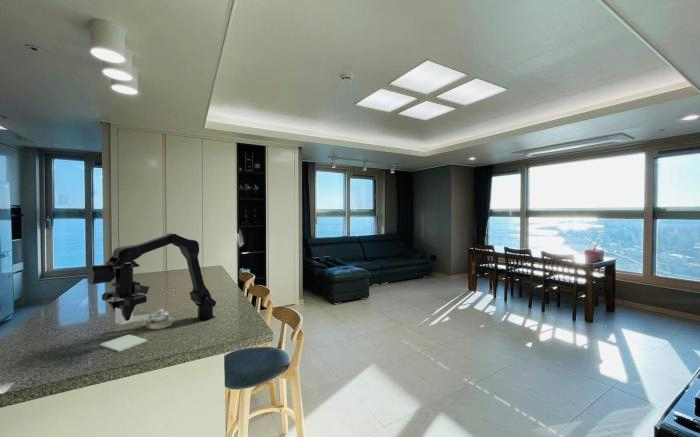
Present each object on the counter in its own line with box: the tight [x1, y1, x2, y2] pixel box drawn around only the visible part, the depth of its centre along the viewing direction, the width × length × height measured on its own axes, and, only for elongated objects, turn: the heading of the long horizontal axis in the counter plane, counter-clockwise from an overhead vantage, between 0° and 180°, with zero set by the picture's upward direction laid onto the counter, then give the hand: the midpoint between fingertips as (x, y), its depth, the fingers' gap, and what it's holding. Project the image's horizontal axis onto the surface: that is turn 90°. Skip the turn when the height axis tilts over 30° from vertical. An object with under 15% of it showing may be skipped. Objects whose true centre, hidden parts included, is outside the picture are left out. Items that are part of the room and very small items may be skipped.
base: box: [146, 316, 174, 330], centre depth 132 cm, size 10×10×2 cm
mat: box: [99, 333, 148, 353], centre depth 113 cm, size 12×10×1 cm
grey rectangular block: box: [114, 307, 134, 326], centre depth 113 cm, size 4×4×6 cm
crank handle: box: [131, 308, 170, 323], centre depth 130 cm, size 17×7×5 cm, turn 119°
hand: (124, 319), depth 113 cm, fingers closed on grey rectangular block, 4 cm apart
